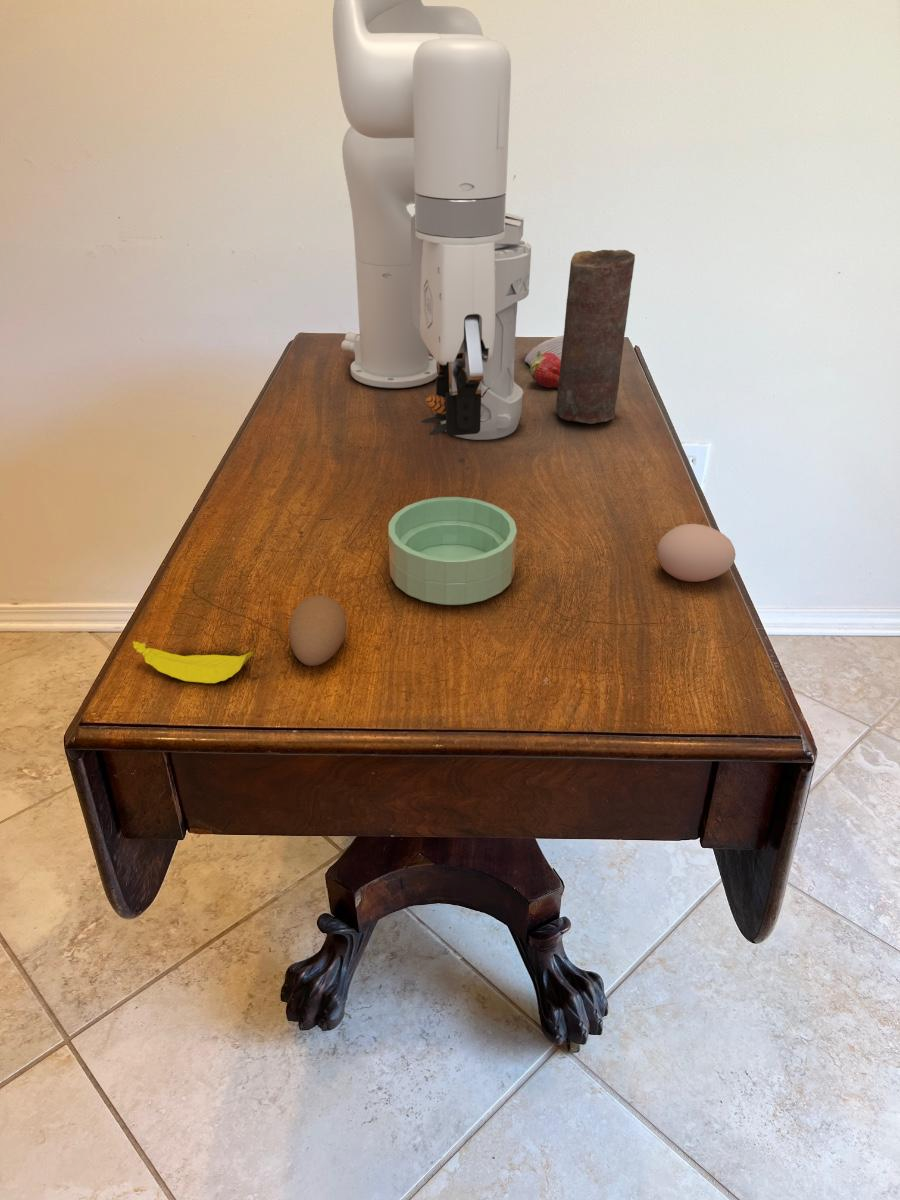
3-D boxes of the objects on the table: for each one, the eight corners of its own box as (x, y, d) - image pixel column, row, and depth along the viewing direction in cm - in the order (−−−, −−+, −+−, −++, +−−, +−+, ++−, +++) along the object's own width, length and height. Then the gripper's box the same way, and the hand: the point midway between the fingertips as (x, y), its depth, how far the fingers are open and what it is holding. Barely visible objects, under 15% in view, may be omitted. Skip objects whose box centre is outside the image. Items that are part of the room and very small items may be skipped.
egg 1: (311, 616, 69) (295, 679, 66) (288, 585, 66) (269, 649, 63) (360, 613, 68) (346, 677, 65) (339, 580, 65) (323, 646, 61)
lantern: (525, 411, 107) (538, 198, 93) (516, 444, 99) (528, 216, 85) (426, 403, 109) (424, 194, 95) (409, 436, 101) (404, 211, 86)
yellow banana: (144, 651, 66) (127, 679, 64) (139, 631, 65) (121, 658, 63) (262, 659, 66) (249, 687, 63) (259, 638, 65) (246, 667, 62)
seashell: (602, 356, 115) (532, 337, 115) (589, 392, 119) (521, 374, 119) (601, 332, 124) (537, 314, 123) (590, 366, 127) (526, 349, 127)
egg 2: (662, 549, 71) (744, 554, 70) (660, 509, 75) (738, 514, 74) (653, 590, 75) (731, 596, 74) (651, 551, 78) (726, 556, 78)
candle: (612, 435, 102) (634, 262, 90) (552, 429, 103) (566, 258, 91) (615, 411, 108) (636, 246, 96) (558, 406, 109) (572, 243, 97)
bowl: (365, 584, 75) (362, 535, 72) (435, 531, 82) (435, 485, 79) (471, 625, 70) (472, 575, 67) (535, 565, 77) (539, 518, 74)
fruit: (571, 392, 113) (574, 356, 110) (527, 390, 113) (529, 354, 110) (571, 381, 116) (574, 346, 113) (528, 379, 117) (530, 344, 114)
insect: (482, 366, 79) (480, 415, 82) (420, 369, 78) (419, 420, 81) (495, 380, 76) (492, 431, 79) (430, 384, 75) (429, 436, 78)
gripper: (398, 201, 75) (403, 396, 86) (436, 239, 62) (437, 465, 73) (479, 198, 77) (474, 391, 87) (533, 235, 63) (520, 457, 74)
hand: (457, 422), depth 80 cm, fingers closed on insect, 3 cm apart
